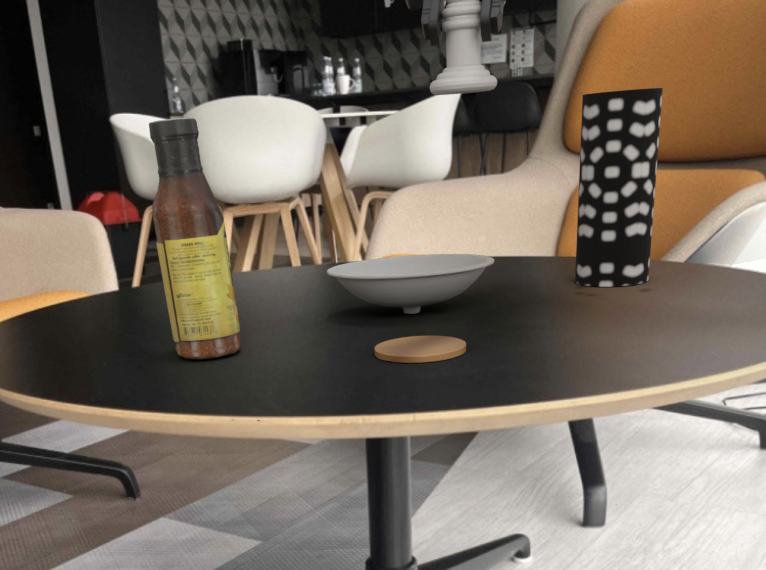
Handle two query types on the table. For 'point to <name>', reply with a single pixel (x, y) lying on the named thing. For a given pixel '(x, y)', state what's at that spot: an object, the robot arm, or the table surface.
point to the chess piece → (463, 51)
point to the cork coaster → (420, 349)
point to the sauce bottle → (192, 247)
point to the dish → (411, 278)
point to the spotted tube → (617, 186)
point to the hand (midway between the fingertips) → (460, 33)
